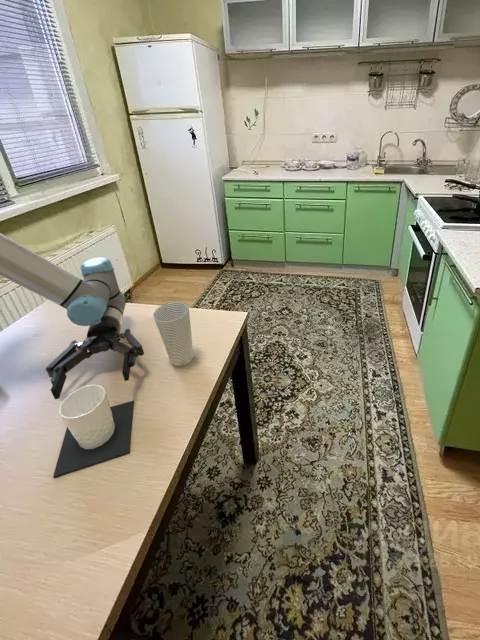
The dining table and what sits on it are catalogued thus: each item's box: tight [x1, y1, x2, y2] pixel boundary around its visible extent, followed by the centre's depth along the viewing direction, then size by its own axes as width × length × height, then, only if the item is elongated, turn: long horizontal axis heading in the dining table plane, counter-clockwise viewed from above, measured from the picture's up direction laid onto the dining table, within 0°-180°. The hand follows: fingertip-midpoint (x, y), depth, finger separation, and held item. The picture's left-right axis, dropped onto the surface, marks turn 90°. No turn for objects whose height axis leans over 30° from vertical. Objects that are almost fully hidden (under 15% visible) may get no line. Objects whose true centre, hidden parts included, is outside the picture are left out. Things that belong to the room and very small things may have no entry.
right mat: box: [52, 400, 135, 479], centre depth 67 cm, size 13×13×1 cm
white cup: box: [58, 384, 115, 449], centre depth 65 cm, size 8×8×10 cm
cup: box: [153, 301, 194, 367], centre depth 84 cm, size 8×8×16 cm
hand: (91, 385), depth 70 cm, fingers open, 13 cm apart
